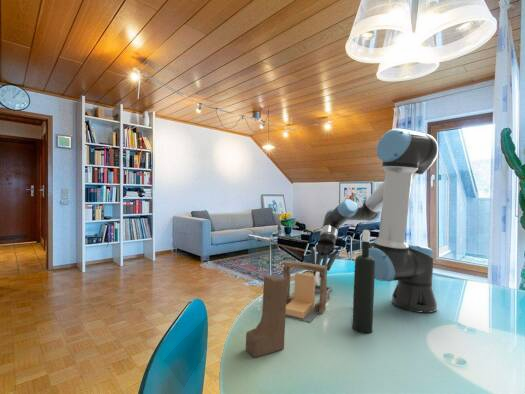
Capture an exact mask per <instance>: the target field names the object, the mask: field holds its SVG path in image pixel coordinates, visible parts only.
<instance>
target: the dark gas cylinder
mask: <svg viewBox="0 0 525 394" xmlns="http://www.w3.org/2000/svg"><path fill="white" fill-rule="evenodd" d="M361 236H362V237H361V243H362V245H361V254H360V255H358V256H356V257H355V259H354V277H353V279H354V280H353V298H352V299H353V300H352V302H353V303H352V321H351V322H352V323H351V328H352V330H353V331H355V332H357V333H359V334H363V335H368V334H372V333H373V322H374V321H373V320H374V303H375V301H374V299H375V298H374V297H375V296H374V295H375V280H376V279H375V260H374V259H373V258H372V257H371V256H369V249H370V240H371V238H370V237H371V232H370V229H363V231H362V235H361Z"/></svg>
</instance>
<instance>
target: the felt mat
mask: <svg viewBox="0 0 525 394" xmlns="http://www.w3.org/2000/svg"><path fill="white" fill-rule="evenodd" d="M318 314H320V313H319V312H315V308H313V309H312V310H311V311H310V312H309V313H308V314H307V315H306V316H305V317H304V318H303V319H302V318H298V317H294V316H290V315H285V318H290V319H293V320H297V321H300V322H305V323H308V324H309V323H310V324H311V323H312V321H314V319H315V318H316V317H317V316H318Z"/></svg>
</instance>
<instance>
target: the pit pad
mask: <svg viewBox="0 0 525 394" xmlns="http://www.w3.org/2000/svg"><path fill="white" fill-rule="evenodd" d="M332 290H333V287H330V286H326V293H331V292H333V291H332ZM316 294H318V295H320V284H319V285H315V295H316Z"/></svg>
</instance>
